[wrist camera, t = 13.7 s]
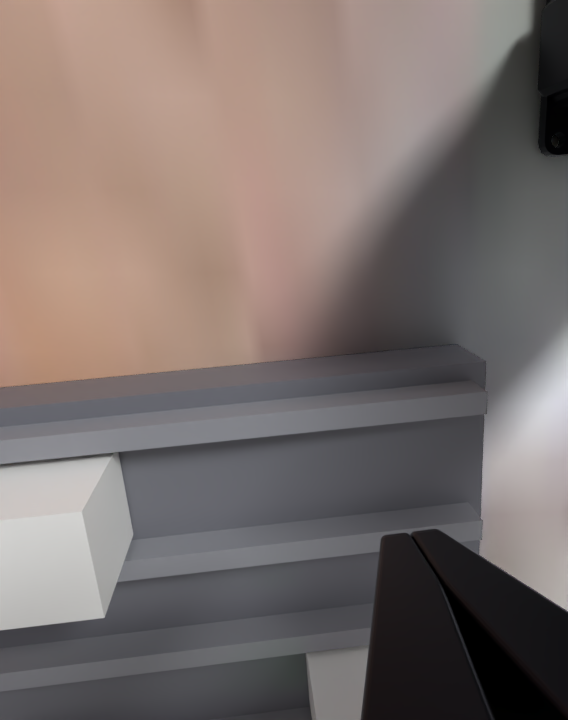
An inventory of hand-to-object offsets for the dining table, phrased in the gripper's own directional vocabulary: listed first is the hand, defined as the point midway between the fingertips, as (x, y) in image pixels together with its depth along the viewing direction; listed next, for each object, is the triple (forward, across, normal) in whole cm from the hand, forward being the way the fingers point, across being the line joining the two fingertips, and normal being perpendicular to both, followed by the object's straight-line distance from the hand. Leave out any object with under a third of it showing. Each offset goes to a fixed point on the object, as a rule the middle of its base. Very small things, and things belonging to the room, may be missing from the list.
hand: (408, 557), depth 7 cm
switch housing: (+12, +4, +8) cm, 16 cm away
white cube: (+10, +9, +4) cm, 14 cm away
